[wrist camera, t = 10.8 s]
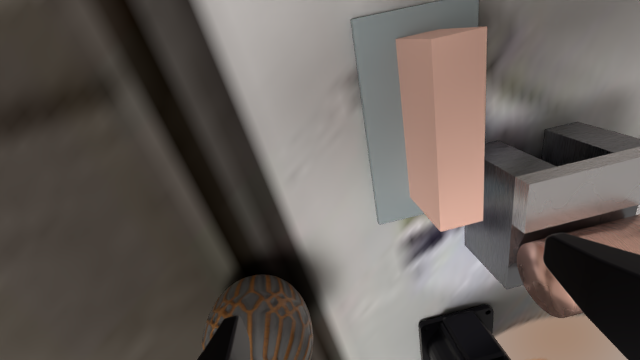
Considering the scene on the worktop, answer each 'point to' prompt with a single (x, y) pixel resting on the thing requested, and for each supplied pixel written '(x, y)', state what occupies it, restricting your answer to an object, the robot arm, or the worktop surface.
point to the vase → (266, 318)
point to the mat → (395, 93)
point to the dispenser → (556, 205)
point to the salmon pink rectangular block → (445, 122)
